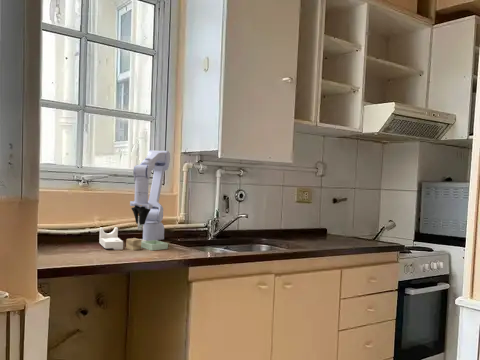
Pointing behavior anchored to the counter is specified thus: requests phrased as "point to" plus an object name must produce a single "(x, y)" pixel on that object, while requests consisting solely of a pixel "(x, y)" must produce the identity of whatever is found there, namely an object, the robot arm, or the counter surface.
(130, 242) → the chock
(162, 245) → the tray
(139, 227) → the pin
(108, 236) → the bracket
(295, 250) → the counter surface
